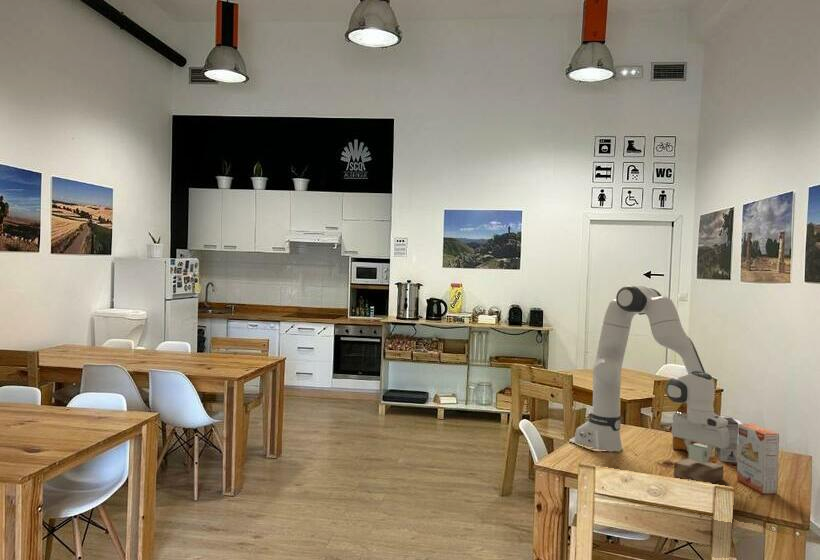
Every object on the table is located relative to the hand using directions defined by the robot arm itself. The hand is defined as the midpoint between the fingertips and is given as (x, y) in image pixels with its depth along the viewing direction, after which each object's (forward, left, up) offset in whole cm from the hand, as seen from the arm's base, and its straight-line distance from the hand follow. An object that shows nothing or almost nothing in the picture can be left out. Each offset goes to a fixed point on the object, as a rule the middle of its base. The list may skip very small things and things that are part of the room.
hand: (698, 454), depth 219 cm
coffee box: (-6, +33, -9) cm, 35 cm away
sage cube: (0, 0, -2) cm, 2 cm away
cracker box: (+17, +8, -9) cm, 20 cm away
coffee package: (-23, +33, -9) cm, 41 cm away
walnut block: (0, 0, -9) cm, 9 cm away
